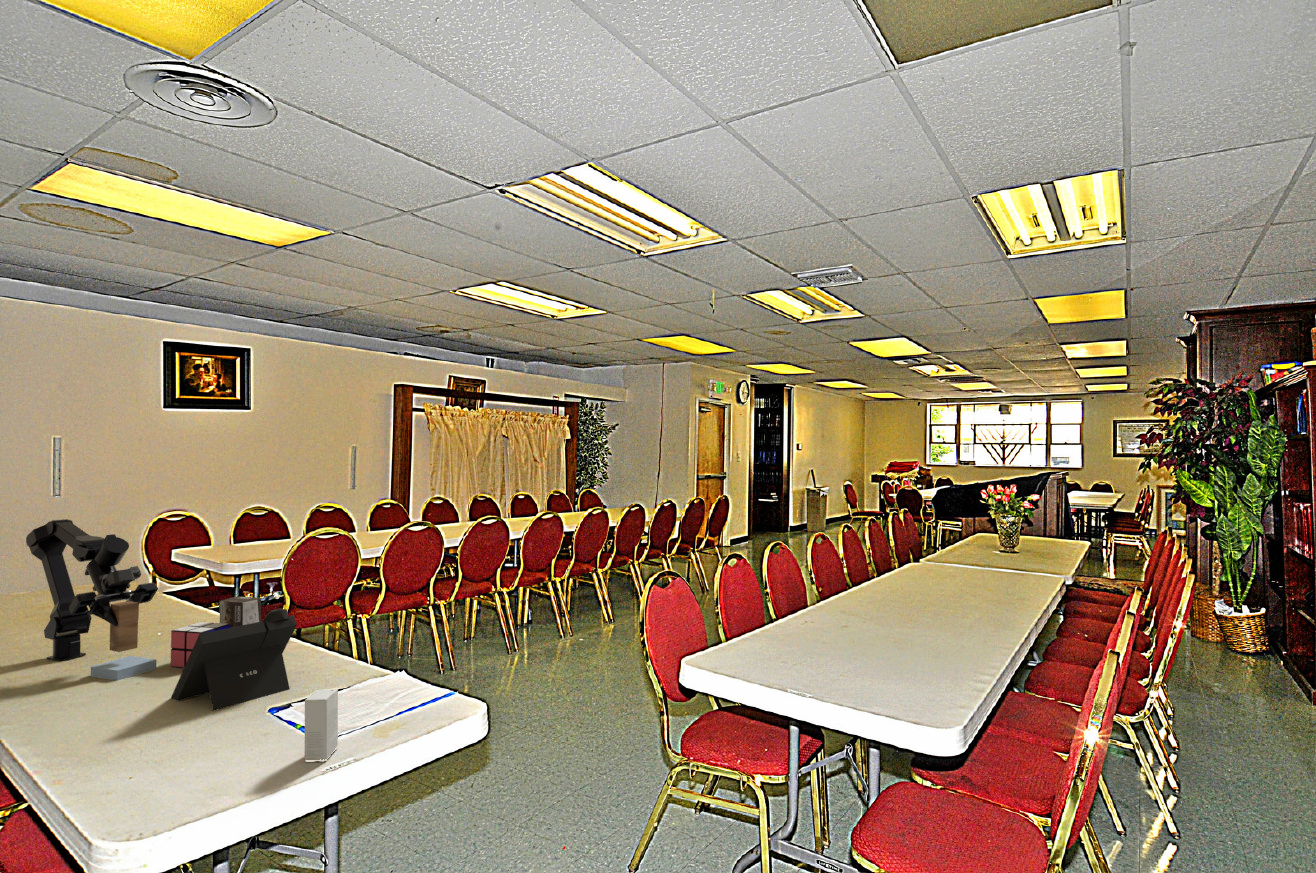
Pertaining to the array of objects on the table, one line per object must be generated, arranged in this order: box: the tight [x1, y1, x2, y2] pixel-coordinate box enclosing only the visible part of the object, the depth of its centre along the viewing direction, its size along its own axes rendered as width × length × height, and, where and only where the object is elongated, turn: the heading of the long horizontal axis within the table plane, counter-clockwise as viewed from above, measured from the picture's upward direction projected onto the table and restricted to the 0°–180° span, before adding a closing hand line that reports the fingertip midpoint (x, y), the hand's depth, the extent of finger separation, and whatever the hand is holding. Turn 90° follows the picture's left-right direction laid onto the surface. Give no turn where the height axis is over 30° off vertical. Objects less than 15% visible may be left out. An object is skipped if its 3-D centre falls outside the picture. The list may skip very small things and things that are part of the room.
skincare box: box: [304, 688, 339, 761], centre depth 137 cm, size 6×4×12 cm
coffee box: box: [219, 596, 262, 628], centre depth 203 cm, size 9×6×16 cm
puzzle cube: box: [170, 621, 230, 669], centre depth 196 cm, size 10×10×10 cm
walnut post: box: [109, 600, 139, 653], centre depth 187 cm, size 4×4×12 cm
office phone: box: [170, 607, 298, 712], centre depth 179 cm, size 29×28×20 cm
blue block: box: [90, 655, 157, 682], centre depth 187 cm, size 10×10×3 cm
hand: (126, 622), depth 186 cm, fingers closed on walnut post, 4 cm apart
